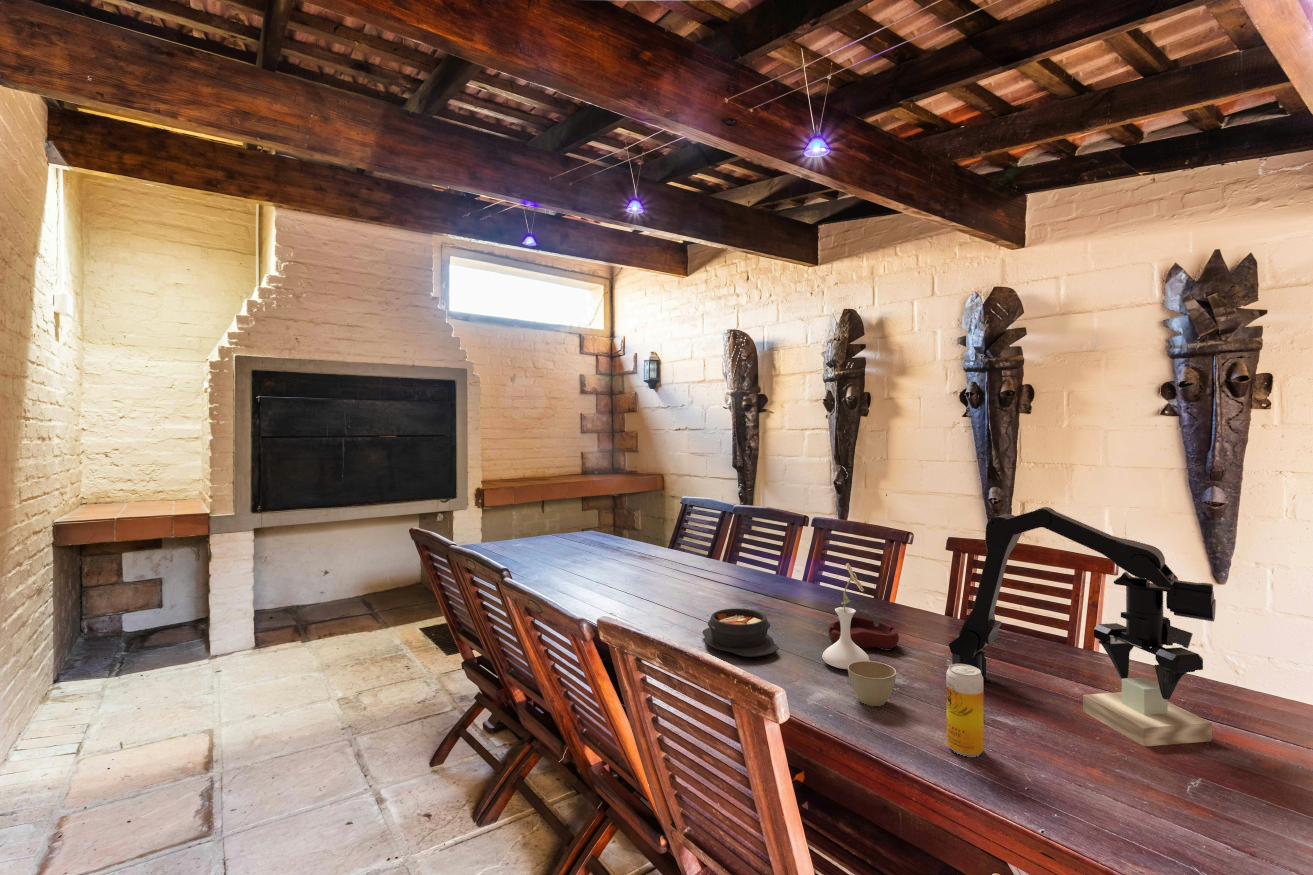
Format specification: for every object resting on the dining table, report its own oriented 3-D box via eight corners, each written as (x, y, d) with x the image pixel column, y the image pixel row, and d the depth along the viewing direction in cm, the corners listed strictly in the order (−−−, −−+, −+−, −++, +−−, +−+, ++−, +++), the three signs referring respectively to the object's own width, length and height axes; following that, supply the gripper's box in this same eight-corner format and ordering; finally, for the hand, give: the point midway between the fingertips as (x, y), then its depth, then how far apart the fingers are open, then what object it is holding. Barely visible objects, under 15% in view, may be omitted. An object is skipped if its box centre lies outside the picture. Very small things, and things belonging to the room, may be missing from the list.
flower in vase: (864, 677, 145) (863, 572, 145) (816, 668, 151) (815, 567, 151) (875, 659, 157) (874, 561, 156) (830, 651, 162) (829, 557, 162)
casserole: (687, 638, 174) (686, 608, 174) (741, 627, 182) (741, 599, 182) (735, 669, 152) (735, 635, 152) (795, 655, 160) (795, 623, 160)
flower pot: (895, 694, 136) (895, 662, 136) (897, 715, 126) (897, 680, 126) (848, 689, 139) (848, 657, 139) (847, 708, 130) (846, 675, 130)
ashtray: (885, 633, 176) (885, 616, 176) (902, 654, 160) (902, 635, 160) (822, 632, 178) (822, 615, 178) (832, 652, 162) (832, 634, 162)
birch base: (1143, 749, 113) (1143, 727, 113) (1083, 713, 127) (1083, 694, 127) (1211, 743, 115) (1211, 722, 114) (1144, 709, 128) (1144, 690, 128)
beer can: (940, 742, 116) (939, 663, 115) (970, 740, 116) (970, 661, 116) (958, 759, 109) (958, 676, 109) (991, 757, 110) (990, 674, 110)
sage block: (1144, 714, 118) (1144, 689, 118) (1121, 703, 123) (1121, 678, 123) (1167, 713, 118) (1167, 687, 118) (1144, 701, 123) (1144, 676, 123)
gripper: (1230, 623, 112) (1230, 707, 112) (1139, 595, 130) (1139, 667, 131) (1175, 626, 111) (1175, 711, 111) (1091, 597, 129) (1091, 670, 130)
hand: (1144, 688), depth 121 cm, fingers open, 9 cm apart
